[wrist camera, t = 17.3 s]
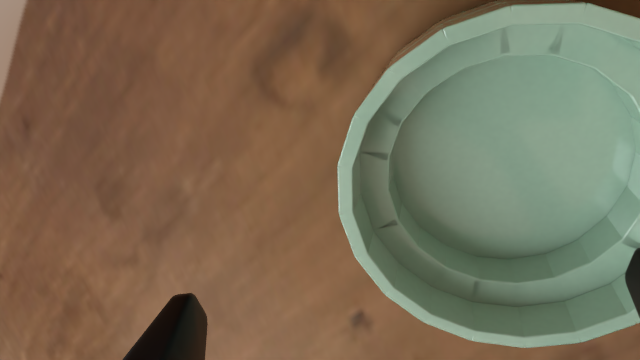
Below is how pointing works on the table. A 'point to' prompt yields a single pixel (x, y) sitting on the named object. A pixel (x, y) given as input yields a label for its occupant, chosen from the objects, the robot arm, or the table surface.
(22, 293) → the table surface
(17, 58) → the table surface
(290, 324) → the table surface
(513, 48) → the bowl
